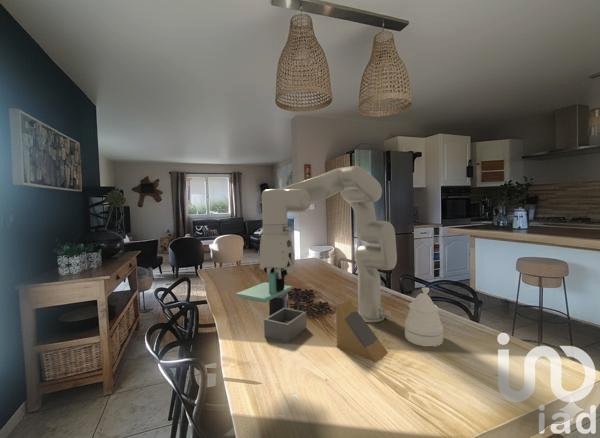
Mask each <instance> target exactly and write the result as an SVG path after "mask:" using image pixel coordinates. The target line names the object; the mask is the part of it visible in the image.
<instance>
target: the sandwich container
mask: <svg viewBox="0 0 600 438" xmlns="http://www.w3.org/2000/svg"><path fill="white" fill-rule="evenodd" d="M335 315H336V316H335V319H336V347H337V348H339V349H342V350H343V351H346V352H347V353H350V354H354V355H356V356H358V357H362V358H364V359H366V360H370V361H372V362H375V363H377V362H379V361H380V360H381V359H383V357H385V356H386V354H388V350H387V349H386V348H385V346H384V345H383V343H382V342H381V341H380V340H379V338H378V337H377V336H376V334H375V333H374V332H373V331H372V328H371V327H370V326H369V324H368V322H365V321H364V319H363V318H362V317H361V315H360V314H359V312H358V310H357V308H356V307H355V305H354V304H353V302H352V301H351V300H350V299H347V300H345V301H343V302H341V303H339V304H336V306H335Z"/></svg>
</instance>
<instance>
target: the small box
mask: <svg viewBox="0 0 600 438" xmlns="http://www.w3.org/2000/svg"><path fill="white" fill-rule="evenodd" d="M268 303H269V305H268V308H269V313H268V317H269V316H271V315H273V314H274V313H276V312H278V311H279V310H281V309H283V308H287V309H289V291H287V292H285V293H283V294H281V295H279V296H277V297H275V298H273V299H271V300H269V301H268Z"/></svg>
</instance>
